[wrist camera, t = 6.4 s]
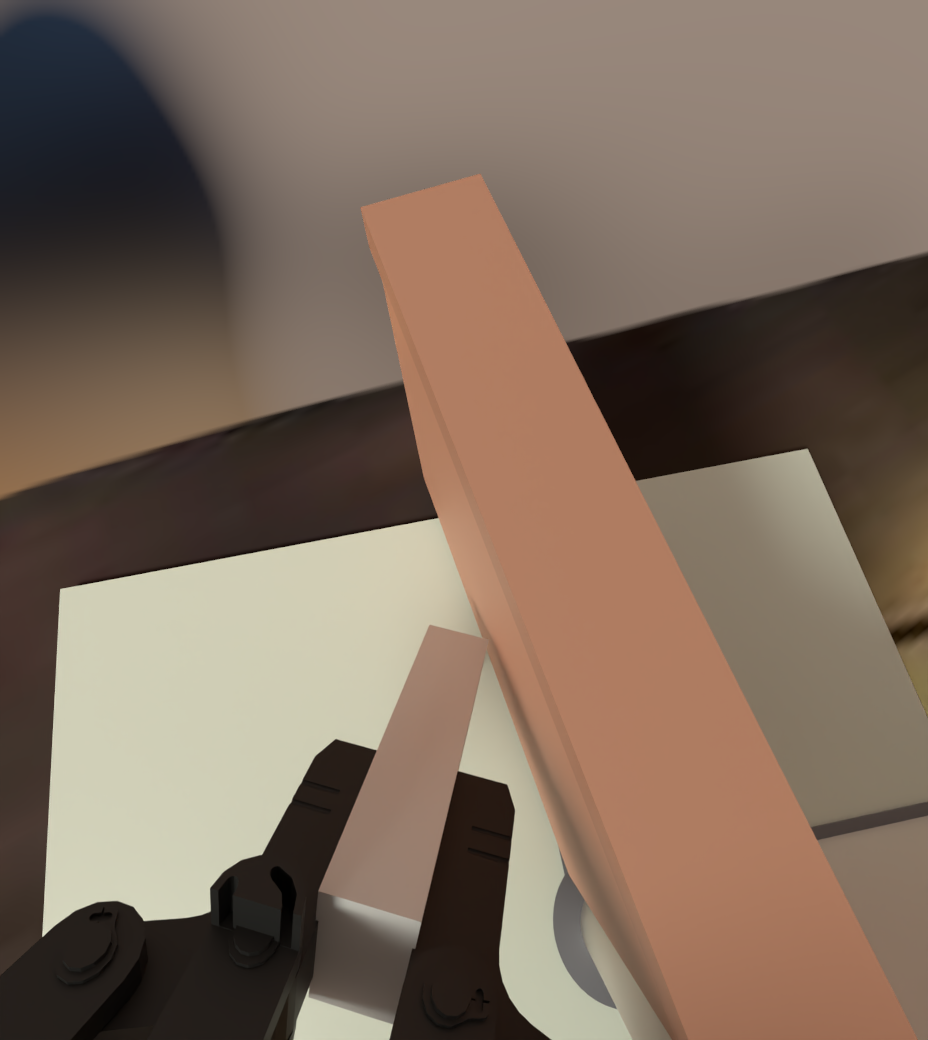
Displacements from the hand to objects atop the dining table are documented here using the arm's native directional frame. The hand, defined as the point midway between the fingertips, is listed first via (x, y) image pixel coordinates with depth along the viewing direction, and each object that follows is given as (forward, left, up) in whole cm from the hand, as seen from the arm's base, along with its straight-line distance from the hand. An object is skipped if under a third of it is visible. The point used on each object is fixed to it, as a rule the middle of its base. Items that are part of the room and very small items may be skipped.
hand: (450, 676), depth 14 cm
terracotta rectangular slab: (-2, -1, -2) cm, 3 cm away
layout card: (-1, +2, -3) cm, 4 cm away
